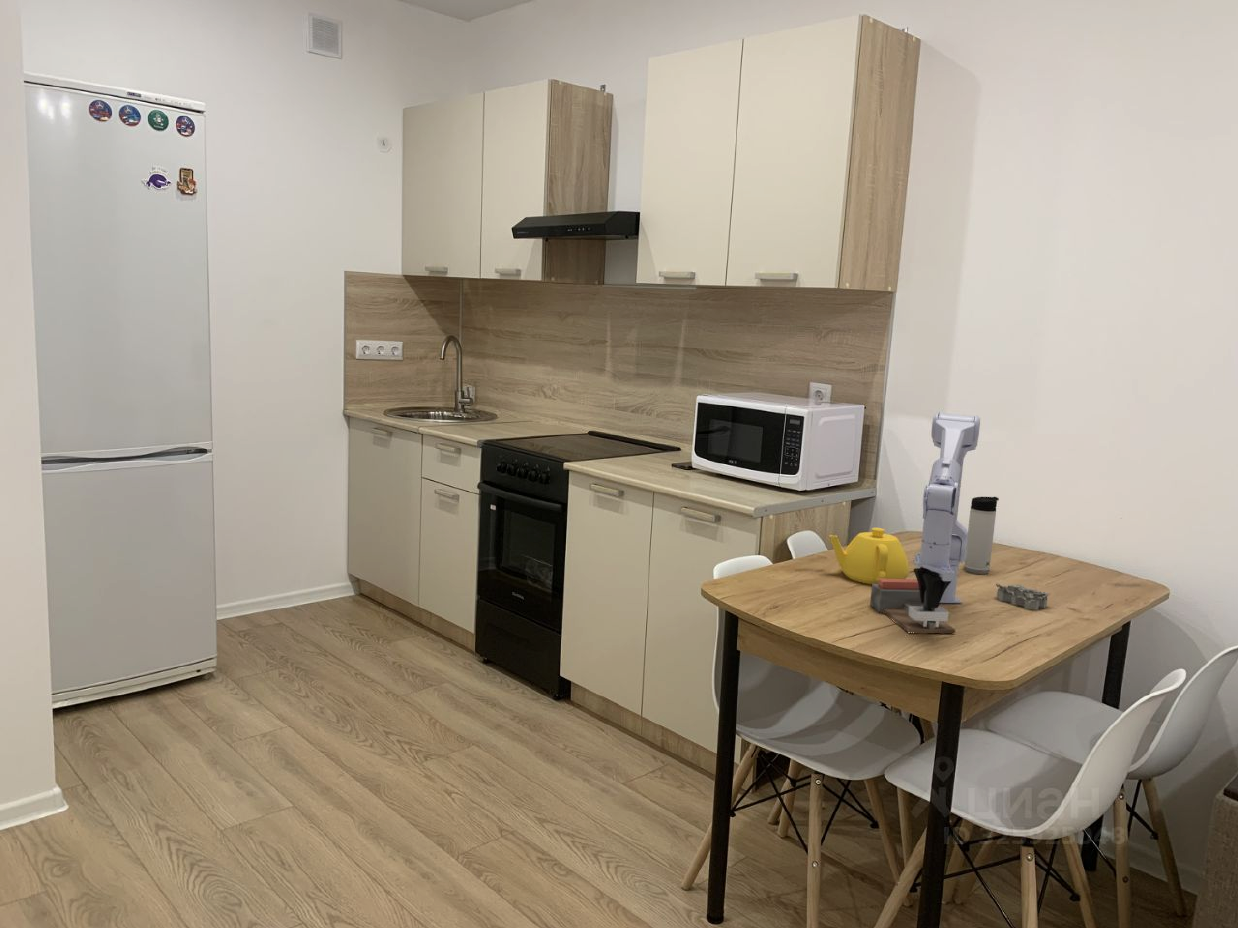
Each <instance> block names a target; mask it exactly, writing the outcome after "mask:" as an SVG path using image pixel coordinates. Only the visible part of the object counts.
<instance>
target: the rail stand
mask: <svg viewBox="0 0 1238 928" xmlns="http://www.w3.org/2000/svg"><path fill="white" fill-rule="evenodd" d="M870 605H871V606H870ZM869 606H870V607H872V608H873V607H874V608H875V609H876V610H877V611H876V610H875V609H874V608H873V609H874V610H875V611H876V612H878V613H879V612H880V613H881V614H884V613H885V614H886V615H885V614H884V615H885V616H886V617H888V618H889V619H890V618H891V619H893V620H894V621H895V622H897V623H898V624H899V625H900V626H901V627H903V628H904V629H905V630H906V631H907V632H910V633H911V632H912V633H913V632H914V633H955V634H956V629H955V628H953V627H952V625H949V623H947V622H946V621H939V627H935V623H934V622H932V621H927V627H923V626H922V625H920V624H919V623H918V622H917V621H915V620H914V619H913V618H911V617H910V616H909V606H923V603H921V599H920V592H919V589H893V588H881V587H880V586H879V585H878V584H872V585H871V593H870V603H869ZM882 612H884V613H882ZM880 613H879V614H880ZM891 619H890V620H891ZM893 620H892V621H893ZM894 621H893V622H894ZM895 622H894V623H895ZM899 625H898V626H899ZM900 626H899V627H900ZM901 627H900V628H901ZM905 630H904V631H905ZM906 631H905V632H906ZM907 632H906V633H907Z"/></svg>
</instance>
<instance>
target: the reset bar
mask: <svg viewBox="0 0 1238 928" xmlns="http://www.w3.org/2000/svg"><path fill="white" fill-rule="evenodd" d="M878 585H879V586H880V587H881V588H893V589H919V585H918V581H917V578H916V579H912V578H910V579H907V578H906V579H879V581H878Z"/></svg>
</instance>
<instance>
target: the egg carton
mask: <svg viewBox="0 0 1238 928" xmlns="http://www.w3.org/2000/svg"><path fill="white" fill-rule="evenodd" d="M995 586H996V587H997V588H998V589H997V593H996V599H997V601H1000V602H1008V603H1010V605H1013V606H1021V607H1023V608H1024V609H1025V610H1033V611H1038V610H1039V608H1042V609H1046V608H1047V606H1048V598H1049V596H1050V595H1051V592H1048V593H1047V592H1042V591H1038V590H1037V589H1032V588H1027V587H1025V586H1024V585H1022V584H1013V585H1007V586H1005V585H1004V586H1003V585H1001V584H999V583H996V584H995Z"/></svg>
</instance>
